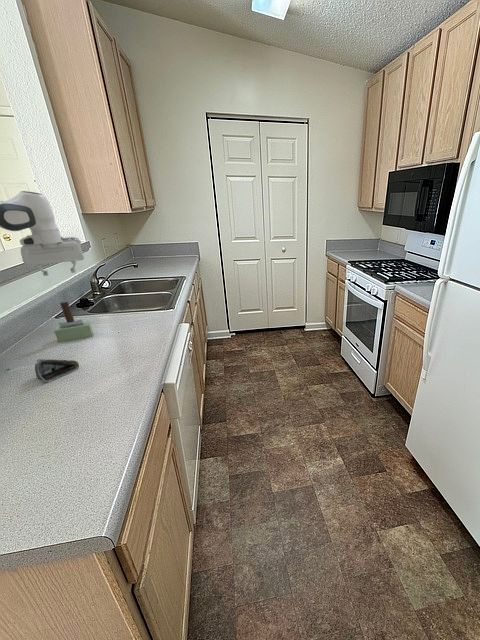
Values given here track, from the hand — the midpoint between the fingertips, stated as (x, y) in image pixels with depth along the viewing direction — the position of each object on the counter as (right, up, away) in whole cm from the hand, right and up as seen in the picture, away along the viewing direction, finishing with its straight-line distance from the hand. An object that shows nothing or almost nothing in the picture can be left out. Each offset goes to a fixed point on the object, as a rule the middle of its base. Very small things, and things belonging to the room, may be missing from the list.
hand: (60, 273), depth 135 cm
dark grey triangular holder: (+16, -40, -24) cm, 49 cm away
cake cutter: (+6, -26, +1) cm, 27 cm away
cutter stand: (+6, -27, +1) cm, 27 cm away
